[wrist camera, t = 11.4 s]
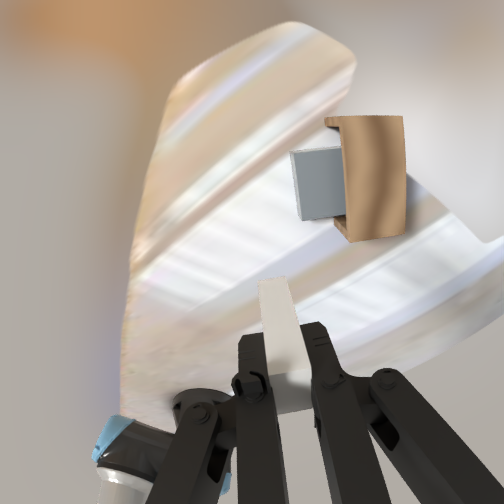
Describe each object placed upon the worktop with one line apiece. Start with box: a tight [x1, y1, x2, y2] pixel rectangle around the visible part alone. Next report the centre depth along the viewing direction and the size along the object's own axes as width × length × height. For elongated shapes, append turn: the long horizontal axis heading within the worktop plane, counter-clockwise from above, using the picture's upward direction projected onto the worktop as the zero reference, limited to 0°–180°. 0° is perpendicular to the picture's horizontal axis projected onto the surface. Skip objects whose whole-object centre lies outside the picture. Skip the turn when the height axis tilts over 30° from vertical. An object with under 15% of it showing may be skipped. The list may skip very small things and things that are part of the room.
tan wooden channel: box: [325, 116, 406, 243], centre depth 33 cm, size 8×15×7 cm, turn 9°
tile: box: [290, 146, 346, 221], centre depth 36 cm, size 12×9×3 cm
